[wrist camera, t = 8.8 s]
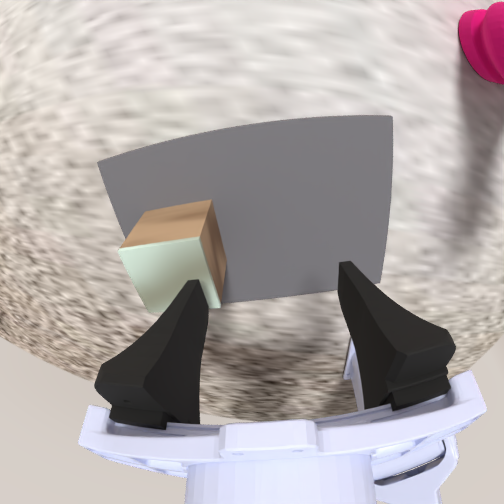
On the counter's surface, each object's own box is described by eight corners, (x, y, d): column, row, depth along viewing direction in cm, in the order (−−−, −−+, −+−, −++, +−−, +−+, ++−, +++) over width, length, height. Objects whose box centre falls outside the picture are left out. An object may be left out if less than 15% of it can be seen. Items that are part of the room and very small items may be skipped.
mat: (378, 280, 22) (379, 282, 22) (159, 305, 24) (158, 308, 24) (390, 115, 15) (392, 116, 14) (99, 161, 17) (97, 162, 16)
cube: (148, 312, 17) (166, 266, 21) (220, 307, 17) (226, 259, 21) (117, 251, 14) (145, 211, 19) (198, 239, 14) (212, 199, 18)
